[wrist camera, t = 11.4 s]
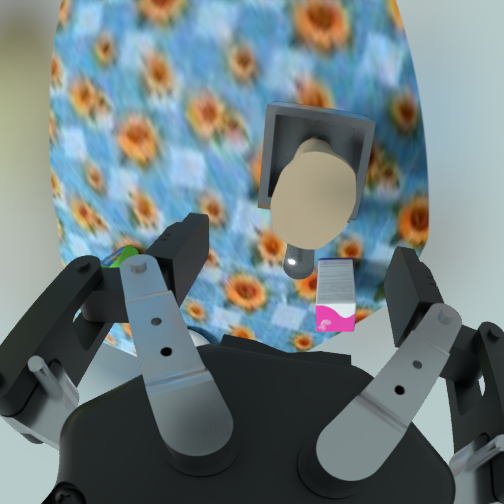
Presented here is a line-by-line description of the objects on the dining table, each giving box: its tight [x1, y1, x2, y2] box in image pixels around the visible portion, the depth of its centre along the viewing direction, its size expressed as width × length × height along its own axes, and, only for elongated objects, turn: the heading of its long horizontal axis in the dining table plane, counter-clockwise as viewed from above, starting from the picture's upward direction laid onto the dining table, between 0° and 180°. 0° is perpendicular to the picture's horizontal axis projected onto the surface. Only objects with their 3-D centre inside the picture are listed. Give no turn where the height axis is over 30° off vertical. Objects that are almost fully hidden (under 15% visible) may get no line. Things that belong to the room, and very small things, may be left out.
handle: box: [271, 137, 356, 250], centre depth 24 cm, size 5×6×15 cm
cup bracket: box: [258, 101, 376, 279], centre depth 34 cm, size 17×14×18 cm
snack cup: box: [100, 245, 139, 268], centre depth 55 cm, size 16×10×10 cm
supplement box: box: [316, 258, 356, 332], centre depth 46 cm, size 6×6×12 cm
